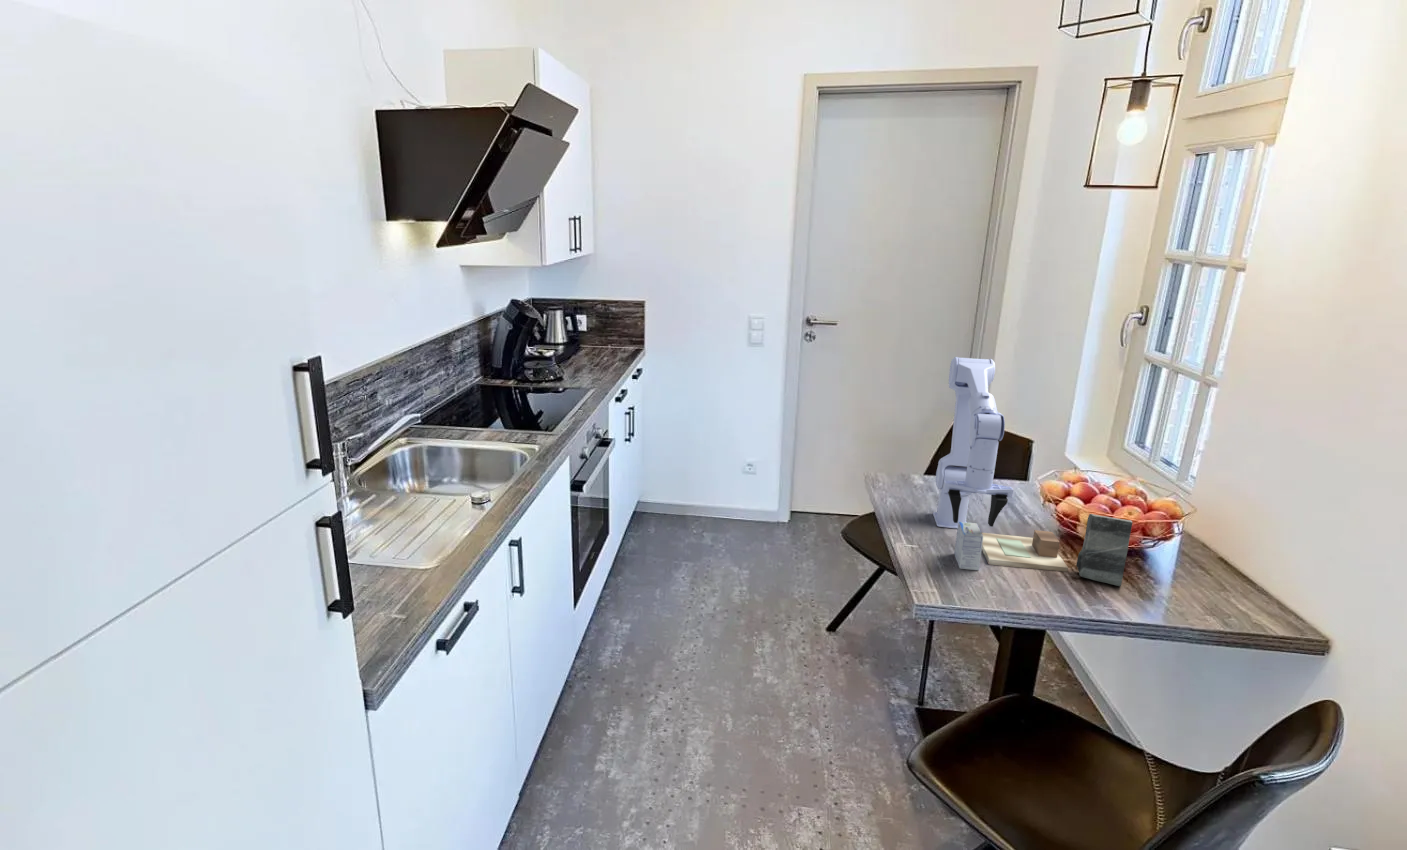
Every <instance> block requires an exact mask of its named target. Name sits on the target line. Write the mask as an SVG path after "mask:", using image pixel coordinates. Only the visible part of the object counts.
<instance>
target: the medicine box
mask: <svg viewBox="0 0 1407 850" xmlns="http://www.w3.org/2000/svg"><path fill="white" fill-rule="evenodd" d="M982 533H983V532H982V531H981V529H980V527H979V524H978V523H975V522H967V521H966V522H959V523H958V528H956V535H955V536H956V538H955V546H954V551H953V552H954V557H955V560H956V562H957V566H958V569H959V570H968V571H979V570H980V564H981V557H982V543H983V535H982Z"/></svg>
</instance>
